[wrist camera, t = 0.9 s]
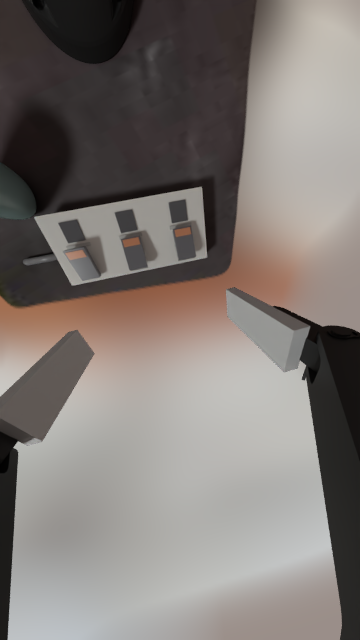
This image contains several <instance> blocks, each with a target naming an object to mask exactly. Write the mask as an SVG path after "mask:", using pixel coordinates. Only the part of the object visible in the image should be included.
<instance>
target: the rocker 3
mask: <svg viewBox="0 0 360 640" xmlns="http://www.w3.org/2000/svg"><path fill="white" fill-rule="evenodd" d="M172 232H173V237H174V242H175V247H176V252H177V257H178V261H181V260H186V259H191V258H195V257H196V252H195V246H194V240H193V234H192V228H191V225H190V226H185V227H180V228H175V229H173V231H172Z"/></svg>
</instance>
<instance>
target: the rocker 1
mask: <svg viewBox="0 0 360 640" xmlns="http://www.w3.org/2000/svg"><path fill="white" fill-rule="evenodd" d="M63 253H64V254H65V256H66V257H67V259H68V260H69V262H70V263H71V265H72V266H73V268H74V269H75V271H76V272H77V274H78V275H79V277H80V278H81V280H82V281H85V280H89V279H94V278H99V277H101V273H100V271H99V269H98V268H97V266H96V264H95V262H94V260H93V258H92V257H91V255H90V253H89V251H88V249H87V248H86V246H82V247H77V248H72V249H67V250H64V251H63Z"/></svg>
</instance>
